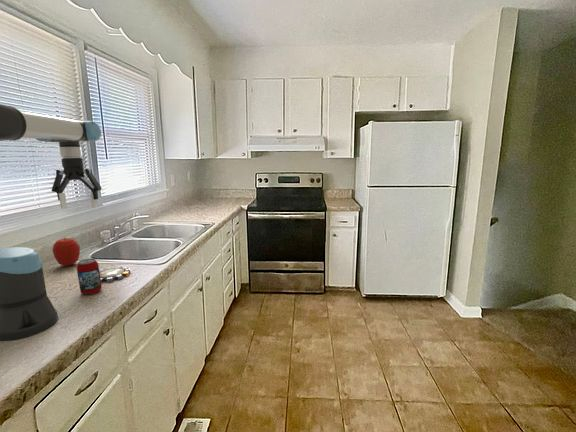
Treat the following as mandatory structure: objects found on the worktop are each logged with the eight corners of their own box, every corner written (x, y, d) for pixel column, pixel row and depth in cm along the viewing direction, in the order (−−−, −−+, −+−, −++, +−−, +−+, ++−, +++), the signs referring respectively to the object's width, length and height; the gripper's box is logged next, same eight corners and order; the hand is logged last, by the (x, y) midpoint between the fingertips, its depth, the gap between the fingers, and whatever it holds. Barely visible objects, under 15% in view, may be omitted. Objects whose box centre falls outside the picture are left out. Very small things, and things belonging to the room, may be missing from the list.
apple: (56, 270, 141) (51, 240, 139) (54, 265, 149) (49, 236, 146) (84, 265, 148) (79, 236, 145) (80, 260, 155) (75, 232, 153)
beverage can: (80, 297, 113) (75, 265, 111) (81, 290, 119) (76, 260, 117) (101, 293, 117) (97, 261, 114) (102, 286, 122) (97, 256, 120)
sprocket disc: (80, 283, 126) (79, 279, 126) (103, 269, 141) (102, 266, 141) (118, 283, 126) (117, 279, 125) (136, 269, 140) (136, 265, 140)
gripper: (106, 156, 137) (112, 205, 141) (49, 158, 138) (57, 206, 142) (95, 156, 130) (102, 208, 134) (35, 158, 130) (44, 209, 134)
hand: (79, 207), depth 138 cm, fingers open, 13 cm apart
